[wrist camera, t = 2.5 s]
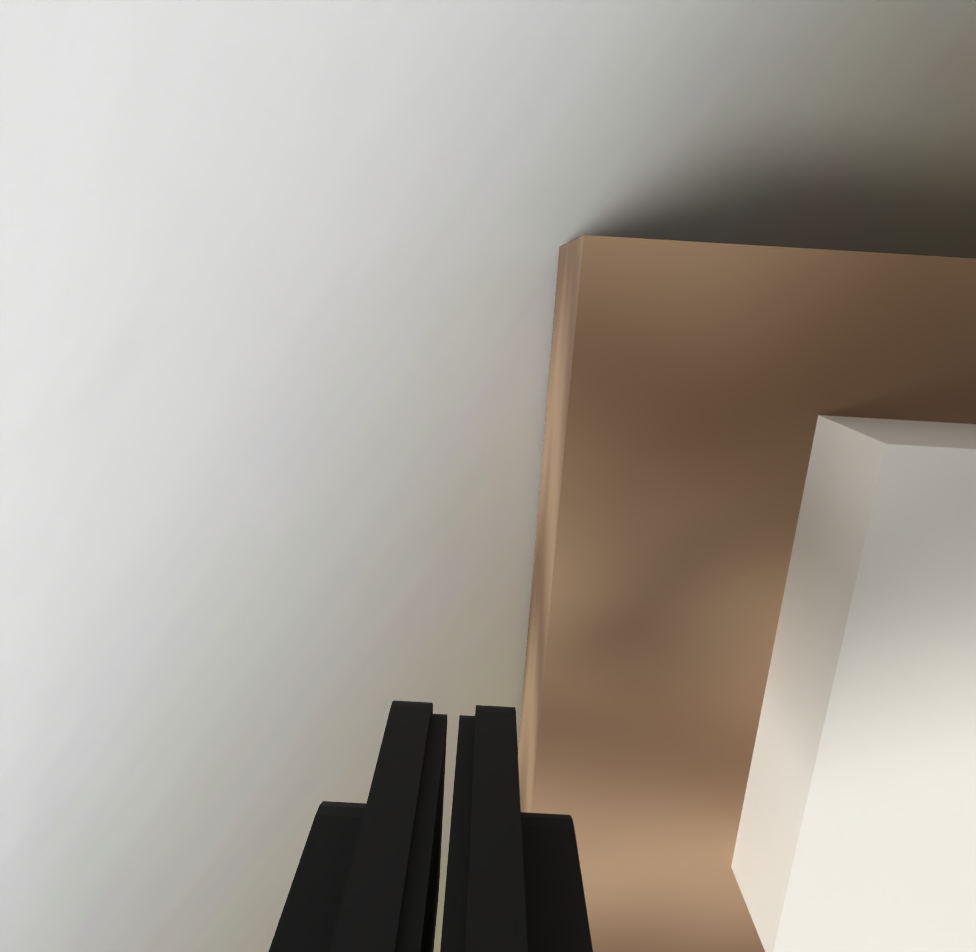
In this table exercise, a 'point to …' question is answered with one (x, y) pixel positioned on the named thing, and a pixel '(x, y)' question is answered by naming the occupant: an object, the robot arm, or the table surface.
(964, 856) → the cream white rectangular block
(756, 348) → the board
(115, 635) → the table surface
